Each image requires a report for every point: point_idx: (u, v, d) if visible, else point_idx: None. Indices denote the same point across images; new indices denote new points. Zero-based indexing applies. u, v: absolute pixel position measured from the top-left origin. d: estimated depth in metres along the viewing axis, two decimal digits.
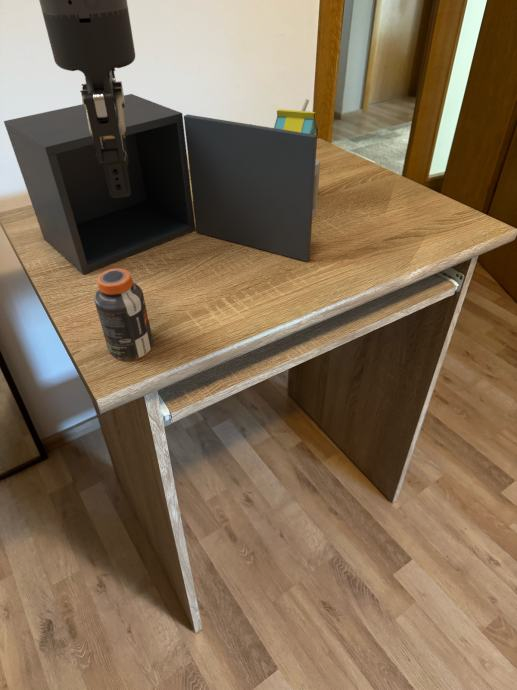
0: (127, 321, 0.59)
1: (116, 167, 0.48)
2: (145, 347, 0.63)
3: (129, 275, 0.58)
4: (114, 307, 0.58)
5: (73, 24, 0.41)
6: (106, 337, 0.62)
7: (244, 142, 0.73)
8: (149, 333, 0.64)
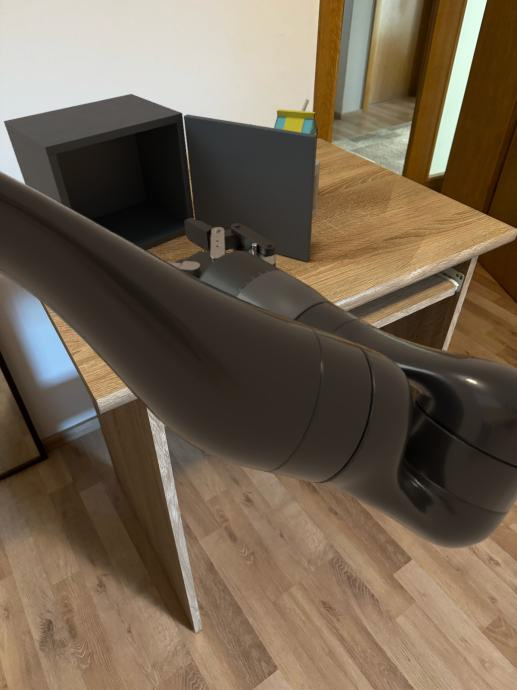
0: None
1: None
2: None
3: None
4: None
5: None
6: None
7: (244, 142, 0.73)
8: None
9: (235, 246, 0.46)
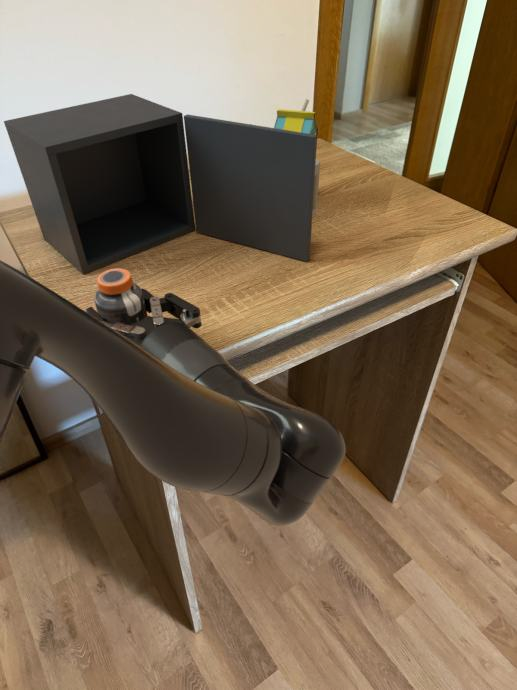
0: (127, 321, 0.59)
1: None
2: None
3: (129, 275, 0.58)
4: (114, 307, 0.58)
5: None
6: None
7: (244, 142, 0.73)
8: None
9: (168, 309, 0.62)
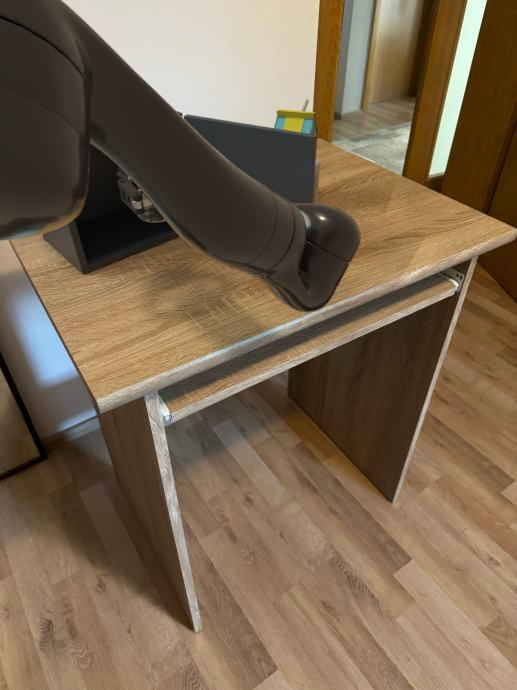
0: None
1: None
2: None
3: None
4: None
5: None
6: None
7: (244, 142, 0.73)
8: None
9: None
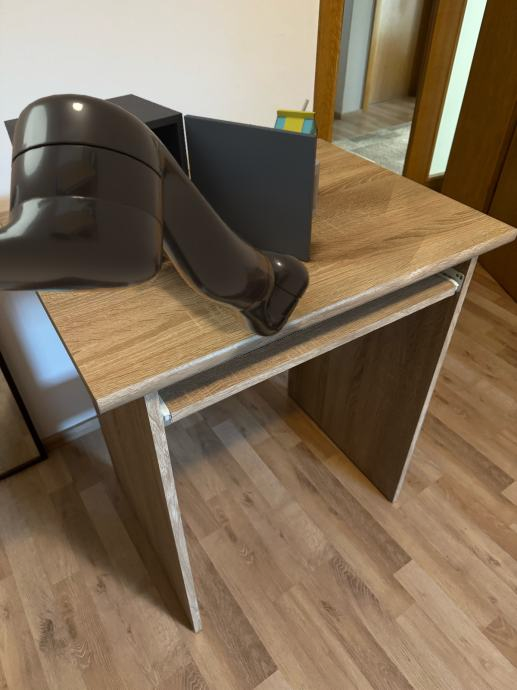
0: None
1: None
2: None
3: None
4: None
5: None
6: None
7: (244, 142, 0.73)
8: None
9: None
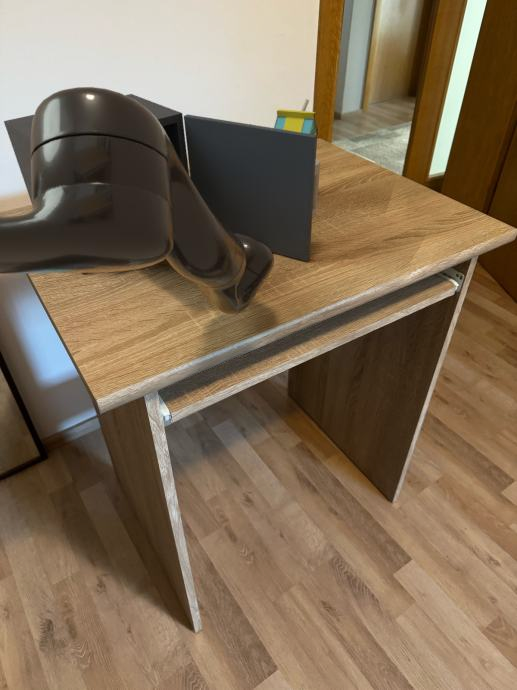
0: None
1: None
2: None
3: None
4: None
5: None
6: None
7: (244, 142, 0.73)
8: None
9: None
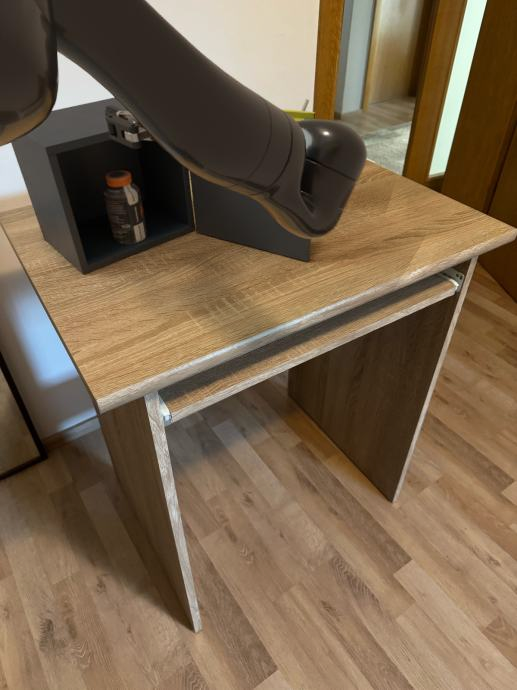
0: (127, 209, 0.80)
1: None
2: (141, 234, 0.84)
3: (129, 174, 0.79)
4: (118, 197, 0.78)
5: None
6: (112, 224, 0.82)
7: None
8: (144, 223, 0.84)
9: None
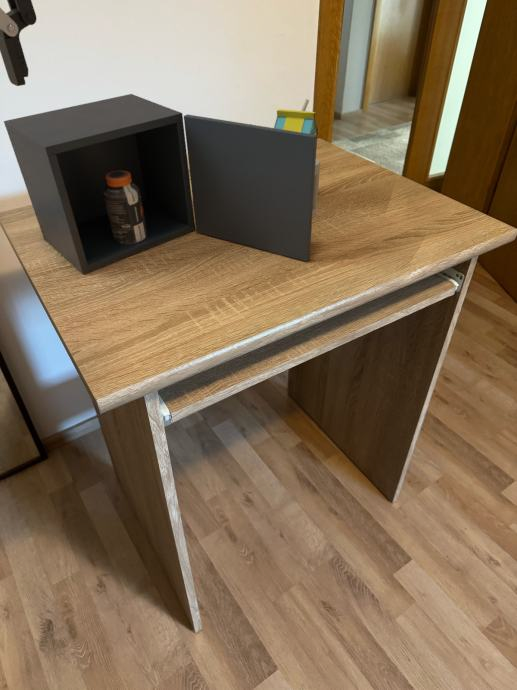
0: (127, 209, 0.80)
1: None
2: (141, 234, 0.84)
3: (129, 174, 0.79)
4: (118, 197, 0.78)
5: None
6: (112, 224, 0.82)
7: (244, 142, 0.73)
8: (144, 223, 0.84)
9: (17, 11, 0.41)
